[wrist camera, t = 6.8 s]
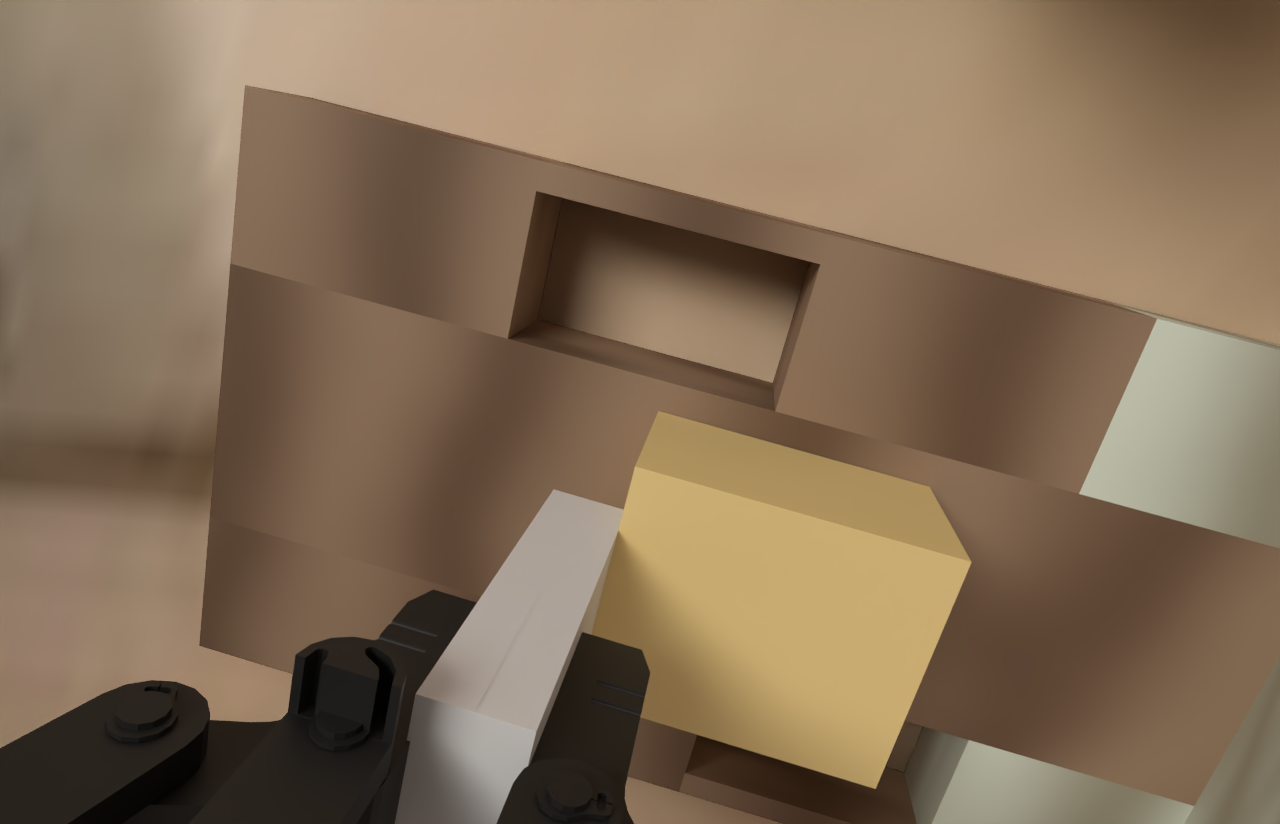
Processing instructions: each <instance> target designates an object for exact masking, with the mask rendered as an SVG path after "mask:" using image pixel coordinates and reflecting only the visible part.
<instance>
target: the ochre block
mask: <svg viewBox="0 0 1280 824" xmlns="http://www.w3.org/2000/svg"><path fill="white" fill-rule="evenodd" d="M971 563H972V562H971V560H970V558H969V556H968V555H967V553H966V551H965V549H964V548H963V546H962V544H961V542H960V540H959V539H958V537H957V535H956V533H955V531H954V530H953V528H952V526H951V524H950V522H949V521H948V519H947V517H946V515H945V513H944V512H943V510H942V508H941V506H940V505H939V503H938V501H937V499H936V497H935V496H934V494H933V492H932V490H931V488H930V487H929V486H925V485H921V484H918V483H914V482H911V481H907V480H904V479H900V478H896V477H893V476H889V475H886V474H882V473H878V472H875V471H871V470H868V469H864V468H861V467H857V466H853V465H850V464H846V463H843V462H839V461H836V460H832V459H828V458H825V457H821V456H818V455H814V454H810V453H807V452H803V451H800V450H796V449H793V448H789V447H785V446H782V445H778V444H775V443H771V442H768V441H764V440H760V439H757V438H753V437H750V436H746V435H743V434H739V433H735V432H732V431H728V430H725V429H721V428H717V427H714V426H710V425H707V424H703V423H700V422H696V421H692V420H689V419H685V418H682V417H678V416H675V415H671V414H667V413H664V412H660V411H658V413H657V415H656V418H655V420H654V423H653V425H652V427H651V430H650V432H649V434H648V437H647V439H646V442H645V444H644V446H643V449H642V451H641V453H640V456H639V458H638V461H637V463H636V465H635V469H634V472H633V476H632V480H631V484H630V488H629V491H628V495H627V499H626V503H625V507H624V510H623V514H622V518H621V522H620V526H619V529H618V534H617V538H616V541H615V545H614V549H613V553H612V557H611V561H610V564H609V568H608V572H607V576H606V580H605V584H604V587H603V591H602V595H601V599H600V603H599V607H598V610H597V614H596V618H595V622H594V626H593V630H592V634H591V635H594V636H598V637H601V638H604V639H608V640H611V641H614V642H617V643H621V644H624V645H627V646H631V647H634V648H637V649H641V650H642V651H643V654H644V657H645V659H646V662H647V665H648V668H649V670H650V677H649V681H648V685H647V690H646V694H645V698H644V703H643V708H642V712H641V716H640V717H641V718H644V719H647V720H651V721H654V722H657V723H660V724H664V725H667V726H670V727H674V728H677V729H680V730H683V731H687V732H690V733H693V734H697V735H700V736H703V737H706V738H710V739H713V740H716V741H720V742H723V743H726V744H729V745H733V746H736V747H739V748H743V749H746V750H749V751H752V752H756V753H759V754H762V755H766V756H769V757H772V758H775V759H779V760H782V761H785V762H789V763H792V764H795V765H798V766H802V767H805V768H808V769H812V770H815V771H818V772H821V773H825V774H828V775H831V776H835V777H838V778H841V779H844V780H848V781H851V782H854V783H858V784H861V785H864V786H867V787H871V788H874V789H876V787H877V785H878V782H879V780H880V778H881V775H882V773H883V770H884V768H885V766H886V763H887V761H888V759H889V756H890V754H891V752H892V749H893V747H894V744H895V742H896V740H897V737H898V735H899V733H900V730H901V728H902V726H903V723H904V721H905V718H906V716H907V714H908V711H909V709H910V707H911V704H912V702H913V700H914V697H915V695H916V692H917V690H918V688H919V685H920V683H921V681H922V678H923V676H924V674H925V671H926V669H927V666H928V664H929V662H930V659H931V657H932V655H933V652H934V650H935V648H936V645H937V643H938V640H939V638H940V636H941V633H942V631H943V629H944V626H945V624H946V622H947V619H948V617H949V615H950V612H951V610H952V607H953V605H954V603H955V600H956V598H957V596H958V593H959V591H960V589H961V586H962V584H963V581H964V579H965V577H966V574H967V572H968V570H969V567H970V565H971Z"/></svg>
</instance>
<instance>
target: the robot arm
mask: <svg viewBox="0 0 1280 824" xmlns="http://www.w3.org/2000/svg"><path fill="white" fill-rule="evenodd" d="M622 514H623V509H620V508H617V507H613V506H610V505H606V504H603V503H599V502H596V501H592V500H589V499H585V498H582V497H579V496H575V495H572V494H568V493H565V492H561V491H558V490H553V491H552V493H551V494H550V496H549V497H548V499H547V500H546V501H545V503H544V504H543V506H542V507H541V509H540V510H539V512H538V513H537V515H536V516H535V518H534V519H533V521H532V522H531V524H530V525H529V527H528V528H527V530H526V531H525V533H524V534H523V536H522V537H521V539H520V540H519V541H518V543H517V544H516V546H515V547H514V549H513V550H512V552H511V553H510V555H509V556H508V558H507V559H506V561H505V562H504V564H503V565H502V567H501V568H500V570H499V571H498V573H497V574H496V576H495V577H494V578H493V580H492V581H491V583H490V584H489V586H488V587H487V589H486V590H485V592H484V593H483V595H482V596H481V598H480V599H479V601H478V602H474V601H470V600H467V599H464V598H460V597H457V596H454V595H450V594H447V593H444V592H440V591H437V590H434V589H433V590H431V591H429V592H427V593H425V594H423V595H421V596H419V597H417V598H415V599H412V600H410V601H408V602H407V603H406V605H405V606H404V607H403V608H402V609H401V610H400V612H399V613H398V614H397V615H396V616H395V618H394V619H393V620H392V623H391V624H389V625H388V626H387V627H386V628H385V629H384V631H383V632H382V633H381V634H380V636H379V638H378V640H377V639H376V640H371V639H365V638H359V637H336V638H329V639H326V640H323V641H319V642H316V643H313V644H310V645H309V646H307V647H306V648H305V649H303V650H302V651H300V652H299V653H297V654H296V655H295V662H294V670H293V677H292V685H291V693H290V700H289V708H288V713H287V714H286V715H285V716H284V717H283V718H282V719H281V720H278V721H273V722H234V721H216V720H210V712H209V707H208V703H207V700H206V699H205V698H204V697H203V696H202V695H201V694H200V693H199V692H198V691H197V690H196V689H194V688H191V687H189V686H186V685H183V684H180V683H177V682H169V681H153V680H152V681H145V682H139V683H133V684H126V685H124V686H121V687H119V688H116V689H114V690H111V691H108V692H106V693H103V694H101V695H99V696H97V697H96V698H94V699H92V700H90V701H88V702H86V703H84V704H82V705H81V706H79V707H77V708H75V709H73V710H71V711H69V712H67V713H66V714H64V715H62V716H60V717H58V718H56V719H54V720H52V721H51V722H49V723H47V724H45V725H43V726H41V727H39V728H37V729H36V730H34V731H32V732H30V733H28V734H26V735H24V736H22V737H21V738H19V739H17V740H15V741H13V742H11V743H9V744H7V745H6V746H4V747H2V748H0V824H634V823H633V821H632V819H631V817H630V815H629V813H628V811H627V807H626V803H625V799H624V797H625V784H626V780H627V775H628V771H629V766H630V762H631V757H632V753H633V748H634V744H635V739H636V735H637V730H638V726H639V721H640V716H641V712H642V708H643V703H644V698H645V694H646V690H647V685H648V681H649V677H650V670H649V668H648V665H647V662H646V659H645V657H644V654H643V651H642V650H641V649H637V648H634V647H631V646H627V645H624V644H621V643H617V642H614V641H611V640H608V639H604V638H601V637H598V636H594V635H591V634H592V630H593V626H594V622H595V618H596V614H597V610H598V607H599V603H600V599H601V595H602V591H603V587H604V584H605V580H606V576H607V572H608V568H609V564H610V561H611V557H612V553H613V549H614V545H615V541H616V538H617V534H618V529H619V526H620V522H621V518H622Z"/></svg>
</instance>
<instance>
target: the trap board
mask: <svg viewBox="0 0 1280 824" xmlns="http://www.w3.org/2000/svg"><path fill="white" fill-rule="evenodd" d="M562 198H565V199H569V200H573V201H577V202H581V203H585V204H589V205H592V206H596V207H600V208H604V209H608V210H612V211H616V212H620V213H623V214H627V215H631V216H635V217H639V218H643V219H647V220H650V221H654V222H658V223H662V224H666V225H670V226H674V227H678V228H681V229H685V230H689V231H693V232H697V233H701V234H705V235H709V236H712V237H716V238H720V239H724V240H728V241H732V242H736V243H739V244H743V245H747V246H751V247H755V248H759V249H763V250H767V251H770V252H774V253H778V254H782V255H786V256H790V257H794V258H797V259H801V260H805V261H809V262H810V263H809V266H808V269H807V273H806V276H805V279H804V282H803V286H802V289H801V292H800V296H799V299H798V302H797V305H796V309H795V312H794V315H793V319H792V322H791V325H790V329H789V332H788V335H787V338H786V342H785V345H784V348H783V352H782V355H781V358H780V361H779V365H778V368H777V371H776V375H775V378H774V381H773V383H770V382H766V381H763V380H759V379H755V378H752V377H748V376H744V375H740V374H737V373H733V372H729V371H725V370H722V369H718V368H714V367H711V366H707V365H703V364H699V363H696V362H692V361H688V360H685V359H681V358H677V357H673V356H670V355H666V354H662V353H659V352H655V351H651V350H647V349H644V348H640V347H636V346H633V345H629V344H625V343H621V342H618V341H614V340H610V339H607V338H603V337H599V336H595V335H592V334H588V333H584V332H581V331H577V330H573V329H569V328H566V327H562V326H558V325H555V324H551V323H547V322H543V321H540V320H538V315H539V310H540V305H541V300H542V295H543V290H544V285H545V280H546V275H547V271H548V266H549V261H550V256H551V251H552V246H553V241H554V236H555V231H556V226H557V221H558V217H559V212H560V207H561V202H562ZM658 411H660V412H664V413H667V414H671V415H675V416H678V417H682V418H685V419H689V420H692V421H696V422H700V423H703V424H707V425H710V426H714V427H717V428H721V429H725V430H728V431H732V432H735V433H739V434H743V435H746V436H750V437H753V438H757V439H760V440H764V441H768V442H771V443H775V444H778V445H782V446H785V447H789V448H793V449H796V450H800V451H803V452H807V453H810V454H814V455H818V456H821V457H825V458H828V459H832V460H836V461H839V462H843V463H846V464H850V465H853V466H857V467H861V468H864V469H868V470H871V471H875V472H878V473H882V474H886V475H889V476H893V477H896V478H900V479H904V480H907V481H911V482H914V483H918V484H921V485H925V486H929V487H930V488H931V490H932V492H933V494H934V496H935V497H936V499H937V501H938V503H939V505H940V506H941V508H942V510H943V512H944V513H945V515H946V517H947V519H948V521H949V522H950V524H951V526H952V528H953V530H954V531H955V533H956V535H957V537H958V539H959V540H960V542H961V544H962V546H963V548H964V549H965V551H966V553H967V555H968V556H969V558H970V560H971V562H972V563H971V565H970V567H969V570H968V572H967V574H966V577H965V579H964V581H963V584H962V586H961V589H960V591H959V593H958V596H957V598H956V600H955V603H954V605H953V607H952V610H951V612H950V615H949V617H948V619H947V622H946V624H945V626H944V629H943V631H942V633H941V636H940V638H939V640H938V643H937V645H936V648H935V650H934V652H933V655H932V657H931V659H930V662H929V664H928V666H927V669H926V671H925V674H924V676H923V678H922V681H921V683H920V685H919V688H918V690H917V692H916V695H915V697H914V700H913V702H912V704H911V707H910V709H909V711H908V714H907V716H906V718H905V721H906V722H909V723H913V724H916V725H919V726H923V729H922V732H921V734H920V736H919V739H918V741H917V743H916V746H915V748H914V751H913V753H912V755H911V758H910V760H909V762H908V765H907V767H906V769H905V772H904V773H903V772H900V771H896V770H893V769H890V768H886V767H885V768H884V770H883V773H882V775H881V778H880V780H879V782H878V785H877V787H876V789H874V788H871V787H867V786H864V785H861V784H858V783H854V782H851V781H848V780H844V779H841V778H838V777H835V776H831V775H828V774H825V773H821V772H818V771H815V770H812V769H808V768H805V767H802V766H798V765H795V764H792V763H789V762H785V761H782V760H779V759H775V758H772V757H769V756H766V755H762V754H759V753H756V752H752V751H749V750H746V749H743V748H739V747H736V746H733V745H729V744H726V743H723V742H720V741H716V740H713V739H710V738H706V737H703V736H700V735H697V734H693V733H690V732H687V731H683V730H680V729H677V728H674V727H670V726H667V725H664V724H660V723H657V722H654V721H651V720H647V719H644V718H641V717H640V721H639V726H638V730H637V735H636V739H635V744H634V748H633V753H632V757H631V762H630V766H629V771H628V775H627V776H629V777H632V778H635V779H639V780H642V781H645V782H648V783H652V784H655V785H658V786H662V787H665V788H668V789H671V790H675V791H678V792H681V793H685V794H688V795H691V796H694V797H698V798H701V799H704V800H707V801H711V802H714V803H717V804H721V805H724V806H727V807H730V808H734V809H737V810H740V811H744V812H747V813H750V814H753V815H757V816H760V817H763V818H766V819H770V820H773V821H776V822H780V823H783V824H1280V345H1276V344H1272V343H1268V342H1264V341H1260V340H1257V339H1253V338H1249V337H1245V336H1241V335H1237V334H1233V333H1229V332H1225V331H1221V330H1217V329H1213V328H1210V327H1206V326H1202V325H1198V324H1194V323H1190V322H1186V321H1182V320H1178V319H1174V318H1170V317H1167V316H1163V315H1159V314H1155V313H1151V312H1147V311H1143V310H1139V309H1135V308H1131V307H1127V306H1123V305H1120V304H1116V303H1112V302H1108V301H1104V300H1100V299H1096V298H1092V297H1088V296H1084V295H1080V294H1077V293H1073V292H1069V291H1065V290H1061V289H1057V288H1053V287H1049V286H1045V285H1041V284H1037V283H1033V282H1030V281H1026V280H1022V279H1018V278H1014V277H1010V276H1006V275H1002V274H998V273H994V272H990V271H987V270H983V269H979V268H975V267H971V266H967V265H963V264H959V263H955V262H951V261H947V260H943V259H940V258H936V257H932V256H928V255H924V254H920V253H916V252H912V251H908V250H904V249H900V248H896V247H893V246H889V245H885V244H881V243H877V242H873V241H869V240H865V239H861V238H857V237H853V236H850V235H846V234H842V233H838V232H834V231H830V230H826V229H822V228H818V227H814V226H810V225H806V224H803V223H799V222H795V221H791V220H787V219H783V218H779V217H775V216H771V215H767V214H763V213H760V212H756V211H752V210H748V209H744V208H740V207H736V206H732V205H728V204H724V203H720V202H716V201H713V200H709V199H705V198H701V197H697V196H693V195H689V194H685V193H681V192H677V191H673V190H670V189H666V188H662V187H658V186H654V185H650V184H646V183H642V182H638V181H634V180H630V179H626V178H623V177H619V176H615V175H611V174H607V173H603V172H599V171H595V170H591V169H587V168H583V167H580V166H576V165H572V164H568V163H564V162H560V161H556V160H552V159H548V158H544V157H540V156H536V155H533V154H529V153H525V152H521V151H517V150H513V149H509V148H505V147H501V146H497V145H493V144H490V143H486V142H482V141H478V140H474V139H470V138H466V137H462V136H458V135H454V134H450V133H446V132H443V131H439V130H435V129H431V128H427V127H423V126H419V125H415V124H411V123H407V122H403V121H400V120H396V119H392V118H388V117H384V116H380V115H376V114H372V113H368V112H364V111H360V110H356V109H353V108H349V107H345V106H341V105H337V104H333V103H329V102H325V101H321V100H317V99H313V98H310V97H304V96H299V95H294V94H289V93H283V92H278V91H273V90H267V89H262V88H257V87H251V86H246V85H245V93H244V105H243V117H242V130H241V142H240V154H239V166H238V179H237V191H236V203H235V216H234V228H233V240H232V252H231V265H230V277H229V289H228V302H227V314H226V326H225V339H224V351H223V363H222V375H221V388H220V400H219V412H218V425H217V437H216V449H215V461H214V474H213V486H212V498H211V511H210V523H209V535H208V548H207V560H206V572H205V584H204V597H203V609H202V621H201V634H200V646H202V647H206V648H209V649H212V650H216V651H219V652H222V653H225V654H229V655H232V656H235V657H238V658H242V659H245V660H248V661H252V662H255V663H258V664H261V665H265V666H268V667H271V668H275V669H278V670H281V671H284V672H288V673H291V674H293V670H294V662H295V655H296V654H297V653H299V652H300V651H302V650H303V649H305V648H306V647H307V646H309V645H310V644H313V643H316V642H319V641H323V640H326V639H329V638H336V637H359V638H365V639H371V640H376V639H377V640H378V638H379V636H380V634H381V633H382V632H383V631H384V629H385V628H386V627H387V626H388V625H389V624H391V623H392V620H393V619H394V618H395V616H396V615H397V614H398V613H399V612H400V610H401V609H402V608H403V607H404V606H405V605H406V603H407V602H408V601H410V600H412V599H415V598H417V597H419V596H421V595H423V594H425V593H427V592H429V591H431V590H433V589H434V590H437V591H440V592H444V593H447V594H450V595H454V596H457V597H460V598H464V599H467V600H470V601H474V602H478V601H479V599H480V598H481V596H482V595H483V593H484V592H485V590H486V589H487V587H488V586H489V584H490V583H491V581H492V580H493V578H494V577H495V576H496V574H497V573H498V571H499V570H500V568H501V567H502V565H503V564H504V562H505V561H506V559H507V558H508V556H509V555H510V553H511V552H512V550H513V549H514V547H515V546H516V544H517V543H518V541H519V540H520V539H521V537H522V536H523V534H524V533H525V531H526V530H527V528H528V527H529V525H530V524H531V522H532V521H533V519H534V518H535V516H536V515H537V513H538V512H539V510H540V509H541V507H542V506H543V504H544V503H545V501H546V500H547V499H548V497H549V496H550V494H551V493H552V491H553V490H558V491H561V492H565V493H568V494H572V495H575V496H579V497H582V498H585V499H589V500H592V501H596V502H599V503H603V504H606V505H610V506H613V507H617V508H620V509H623V510H624V507H625V503H626V499H627V495H628V491H629V488H630V484H631V480H632V476H633V472H634V469H635V465H636V463H637V461H638V458H639V456H640V453H641V451H642V449H643V446H644V444H645V442H646V439H647V437H648V434H649V432H650V430H651V427H652V425H653V423H654V420H655V418H656V415H657V413H658Z"/></svg>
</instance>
